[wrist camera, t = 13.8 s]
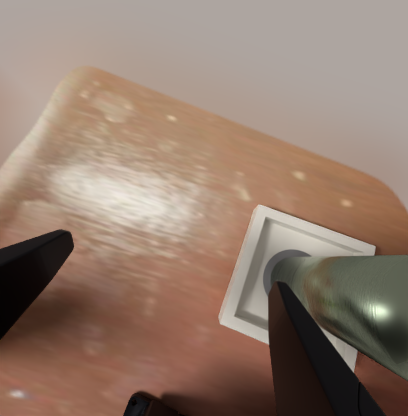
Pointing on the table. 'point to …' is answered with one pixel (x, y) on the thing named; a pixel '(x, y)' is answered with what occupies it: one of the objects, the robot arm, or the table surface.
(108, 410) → the table surface
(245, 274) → the tray
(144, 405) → the robot arm
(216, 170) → the table surface
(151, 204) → the table surface
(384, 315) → the green bottle
